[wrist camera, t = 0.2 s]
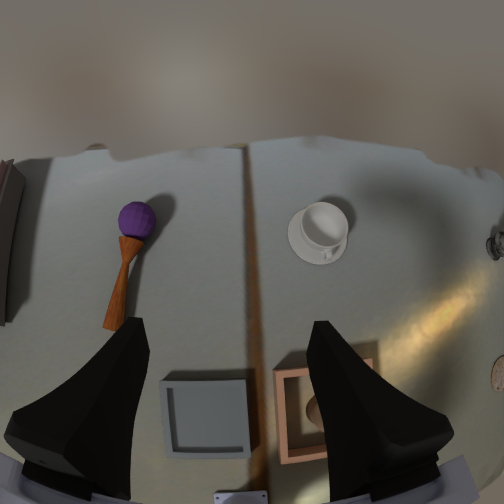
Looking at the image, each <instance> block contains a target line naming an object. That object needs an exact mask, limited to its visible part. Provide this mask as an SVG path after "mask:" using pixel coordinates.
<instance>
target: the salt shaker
mask: <svg viewBox="0 0 504 504" xmlns="http://www.w3.org/2000/svg"><path fill="white" fill-rule="evenodd" d="M486 248H487V252H488V254H489V256H490V257H491V259H493V260H495V261H496V260H498V259H499V258H500V257H504V232H503V231H498V232H497V233H496V235H495V236H494V237H493V238H489V239H488V240H487V242H486Z"/></svg>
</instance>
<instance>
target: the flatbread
mask: <svg viewBox="0 0 504 504" xmlns="http://www.w3.org/2000/svg"><path fill="white" fill-rule="evenodd" d="M492 385H493V388H494V390H495V391H498V392H499V391H502V390H504V356H502V357H500V358H499V359H498V360H497V361H496V363H495V365H494V367H493V372H492Z"/></svg>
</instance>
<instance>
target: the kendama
mask: <svg viewBox="0 0 504 504" xmlns="http://www.w3.org/2000/svg"><path fill="white" fill-rule="evenodd" d="M118 222H119V229H120V230H121V232H122V234H123V235H124V236H120V237H119V242H120V248H121V255H122V260H123V263H122V266H121V269H120V272H119V275H118V278H117V281H116V284H115V287H114V290H113V293H112V296H111V300H110V303H109V306H108V310H107V313H106V317H105V320H104V324H103V328H105V329H108V330H112V331H117V330H118V329H119V327H120V326H121V325H122V324H123V323H124V314H125V302H126V291H127V281H128V272H129V264H130V262H131V261H132V260H133V258H134V257H135V256H136V254H137V253H138V252H139V251H140V249H141V248H142V247H143V245H144V243H143V242H141V241H139V240H142V239H144V238H146V237H148V236H149V235H150V234H151V232H152V231H153V229H154V226H155V222H156V219H155V214H154V212H153V210H152V209H151V207H150V206H149V205H147V204H145V203H143V202H131V203H129V204H128V205H126V206H124V208H123V209H122V210H121V211H120V215H119V218H118ZM125 236H126V237H125Z"/></svg>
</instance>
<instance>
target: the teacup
mask: <svg viewBox="0 0 504 504" xmlns="http://www.w3.org/2000/svg"><path fill="white" fill-rule="evenodd" d="M347 234H348V221H347V219H346V217H345V215H344V213H343V212H342V211H341V210H340V209H339V208H338V207H336V206H335V205H333V204H330V203H327V202H317V203H313V204H311V205H310V206H308V207H307V208H304V209H302V210H300V211H299V212H297V213H296V214H295V215H294V216H293V218H292V219H291V221H290V223H289V227H288V238H289V242H290V244H291V247H292V248H293V250H294V251H295V252H296V254H297V255H298V256H300V257H301V258H302V259H304V260H305V261H307V262H310V263H313V264H319V265H323V264H329V263H332V262H334V261H336V260H337V259H338V258H339V257H341V255H342V254H343V253H344V251H345V249H346V246H347Z"/></svg>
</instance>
